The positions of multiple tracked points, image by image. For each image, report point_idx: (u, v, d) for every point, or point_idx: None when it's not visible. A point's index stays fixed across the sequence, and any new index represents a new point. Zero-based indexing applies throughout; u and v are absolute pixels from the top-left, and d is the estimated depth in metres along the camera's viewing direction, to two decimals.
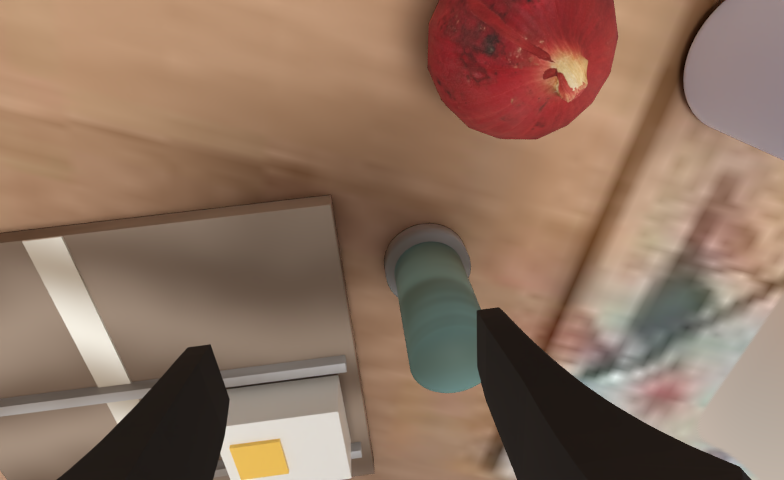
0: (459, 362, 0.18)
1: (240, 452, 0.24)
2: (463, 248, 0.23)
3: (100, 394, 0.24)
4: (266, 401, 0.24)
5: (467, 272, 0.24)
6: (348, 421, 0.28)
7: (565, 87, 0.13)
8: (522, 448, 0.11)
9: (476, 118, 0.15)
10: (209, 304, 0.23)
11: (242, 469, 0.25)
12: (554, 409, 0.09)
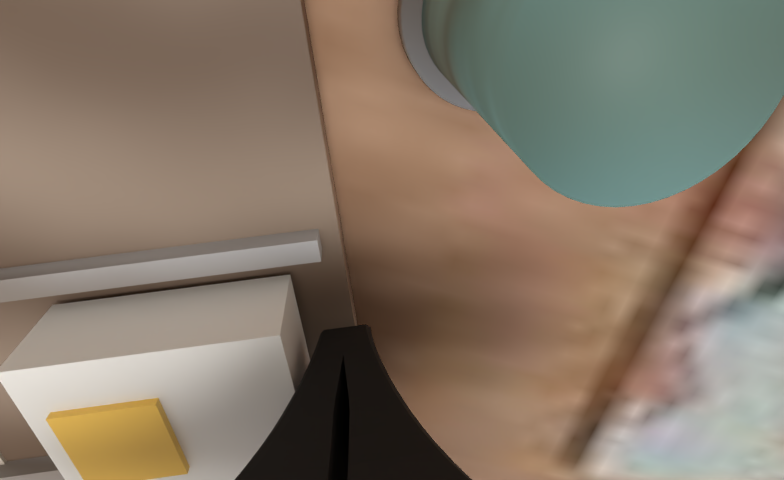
0: (673, 75, 0.05)
1: (72, 427, 0.11)
2: None
3: None
4: (134, 321, 0.12)
5: None
6: None
7: None
8: None
9: None
10: (5, 89, 0.10)
11: (86, 465, 0.12)
12: (363, 435, 0.09)
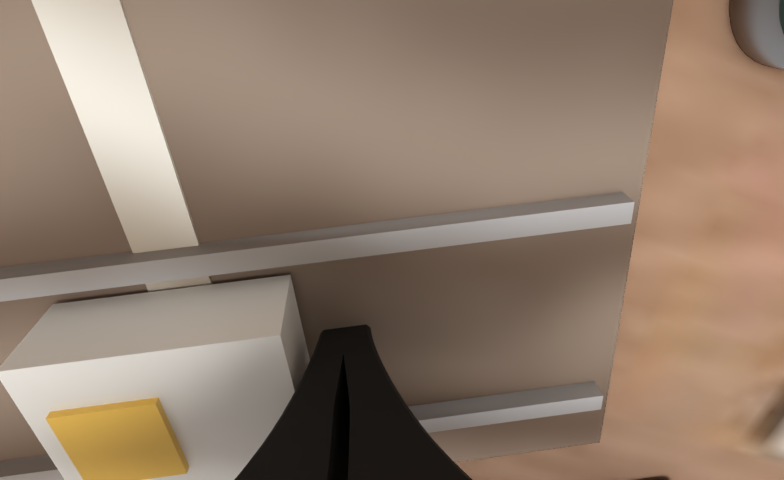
0: None
1: (72, 426, 0.11)
2: None
3: (138, 263, 0.12)
4: (134, 320, 0.12)
5: None
6: (586, 340, 0.15)
7: None
8: None
9: None
10: (381, 47, 0.11)
11: (85, 464, 0.12)
12: (363, 435, 0.09)
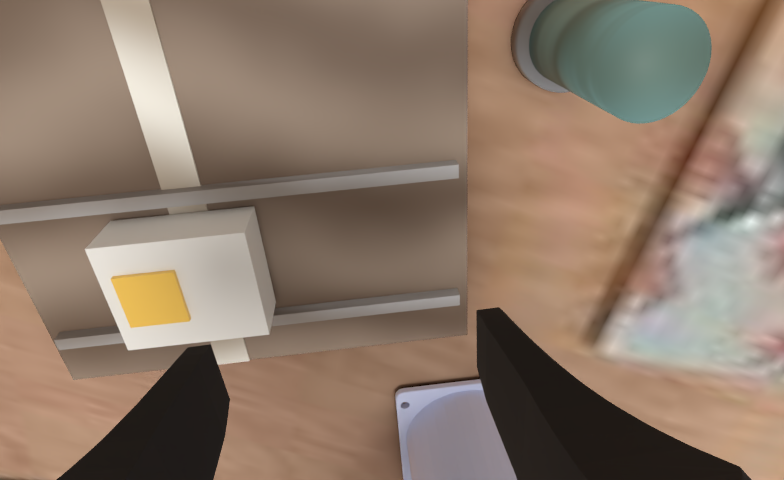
0: (662, 70, 0.14)
1: (124, 285, 0.19)
2: None
3: (165, 194, 0.20)
4: (161, 227, 0.20)
5: None
6: (447, 258, 0.24)
7: None
8: (522, 448, 0.11)
9: None
10: (305, 72, 0.19)
11: (130, 311, 0.20)
12: (554, 409, 0.09)
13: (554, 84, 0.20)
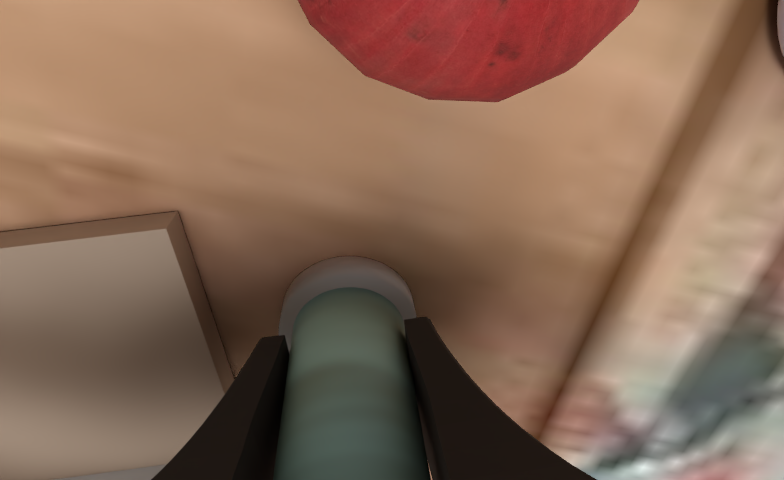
0: None
1: None
2: (404, 297, 0.14)
3: None
4: None
5: None
6: None
7: None
8: (434, 460, 0.11)
9: (361, 43, 0.07)
10: None
11: None
12: (450, 423, 0.09)
13: None
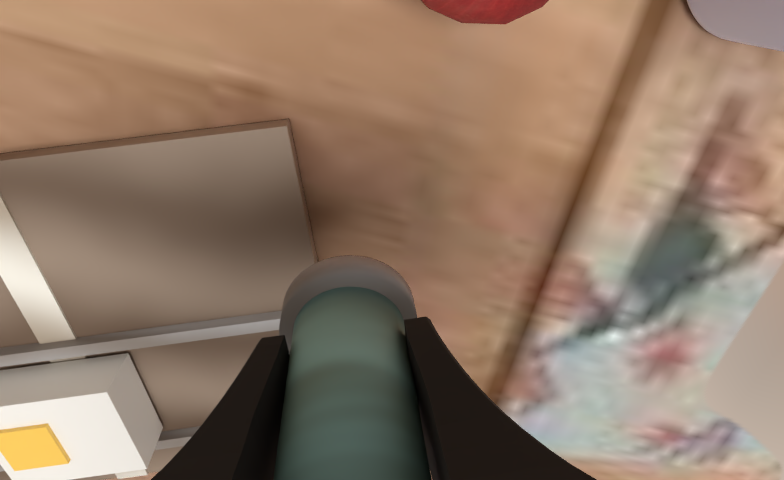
0: None
1: (2, 439, 0.21)
2: (404, 296, 0.14)
3: (41, 350, 0.22)
4: (37, 382, 0.22)
5: None
6: None
7: None
8: (434, 460, 0.11)
9: None
10: (157, 246, 0.21)
11: (12, 459, 0.22)
12: (450, 423, 0.09)
13: None
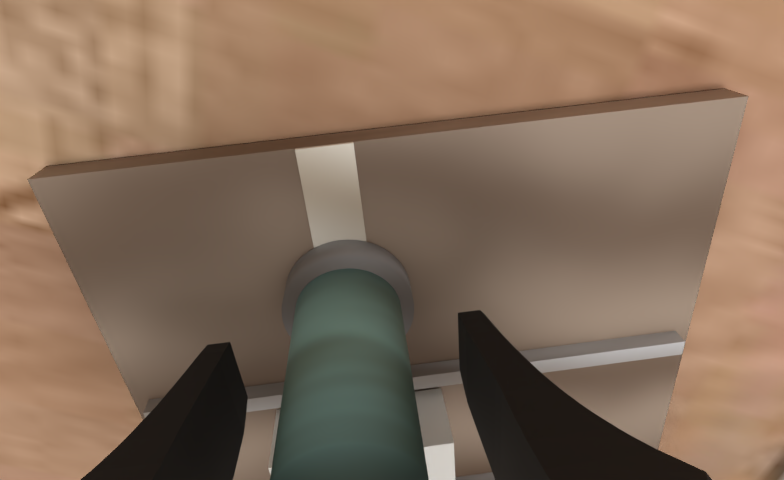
0: None
1: None
2: (400, 278, 0.15)
3: None
4: None
5: (409, 314, 0.15)
6: (642, 423, 0.20)
7: None
8: (499, 451, 0.11)
9: None
10: (524, 254, 0.16)
11: None
12: (527, 413, 0.09)
13: None
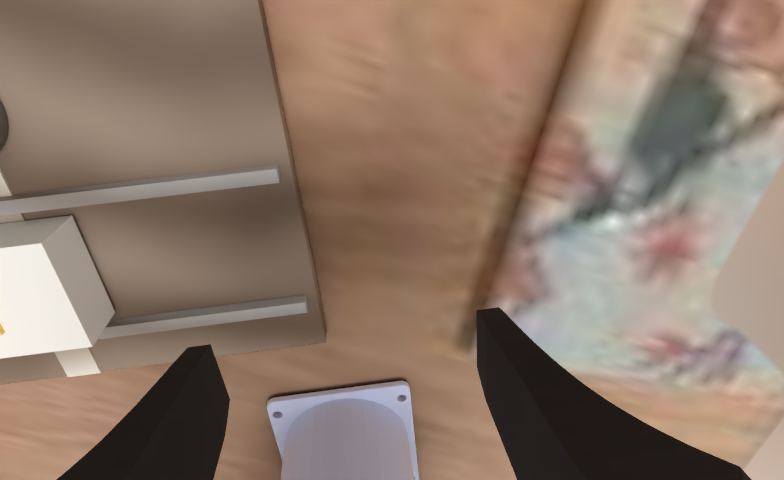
0: None
1: None
2: None
3: None
4: None
5: None
6: (289, 264, 0.23)
7: None
8: (522, 448, 0.11)
9: None
10: (99, 77, 0.18)
11: None
12: (554, 409, 0.09)
13: None
